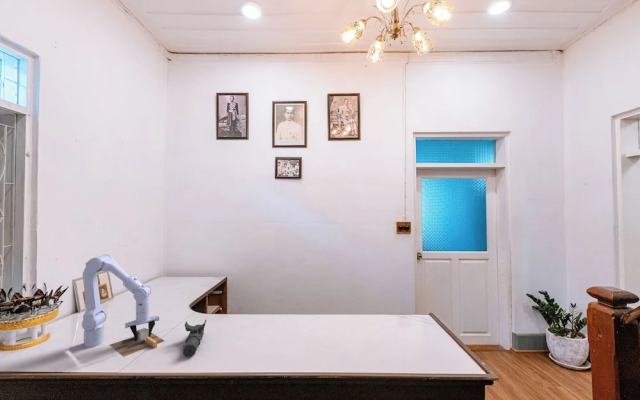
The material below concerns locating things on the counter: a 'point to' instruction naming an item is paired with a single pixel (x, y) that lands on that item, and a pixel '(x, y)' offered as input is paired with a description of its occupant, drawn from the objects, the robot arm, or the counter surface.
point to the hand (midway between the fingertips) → (142, 338)
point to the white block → (142, 334)
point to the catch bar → (151, 342)
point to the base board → (133, 345)
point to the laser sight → (193, 338)
